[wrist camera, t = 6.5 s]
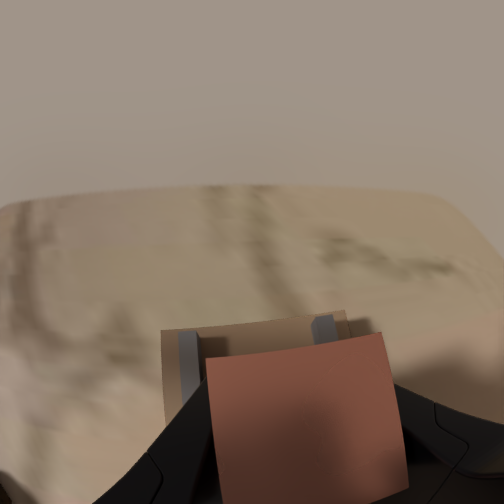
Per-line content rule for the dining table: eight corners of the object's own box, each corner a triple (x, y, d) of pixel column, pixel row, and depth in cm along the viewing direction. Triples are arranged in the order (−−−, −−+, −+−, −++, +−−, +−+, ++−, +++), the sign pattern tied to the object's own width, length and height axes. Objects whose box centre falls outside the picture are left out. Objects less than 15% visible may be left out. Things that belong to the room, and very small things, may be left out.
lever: (331, 496, 9) (445, 572, 2) (229, 512, 9) (205, 632, 1) (308, 351, 13) (391, 244, 5) (210, 363, 12) (154, 268, 5)
